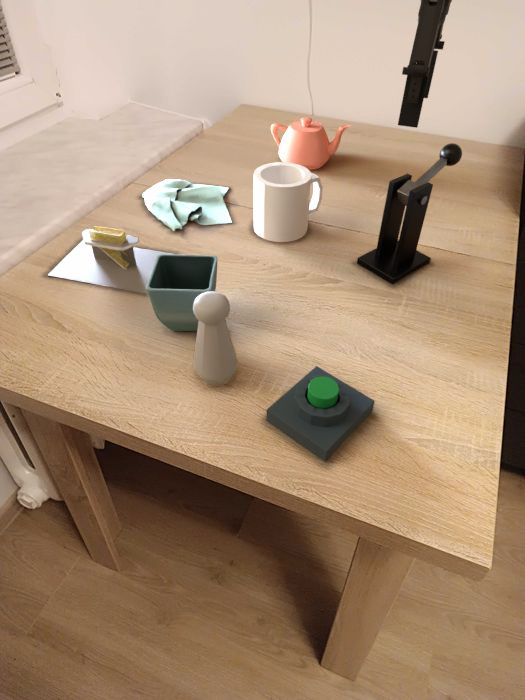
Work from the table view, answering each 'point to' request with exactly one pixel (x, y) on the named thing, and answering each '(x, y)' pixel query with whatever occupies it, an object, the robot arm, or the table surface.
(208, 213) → the cloth
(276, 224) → the mug
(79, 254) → the platform
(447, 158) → the lever
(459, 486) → the table surface
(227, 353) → the salt shaker
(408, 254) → the switch bracket
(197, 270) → the flower pot
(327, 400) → the button
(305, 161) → the teapot
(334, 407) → the control block
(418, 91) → the robot arm
